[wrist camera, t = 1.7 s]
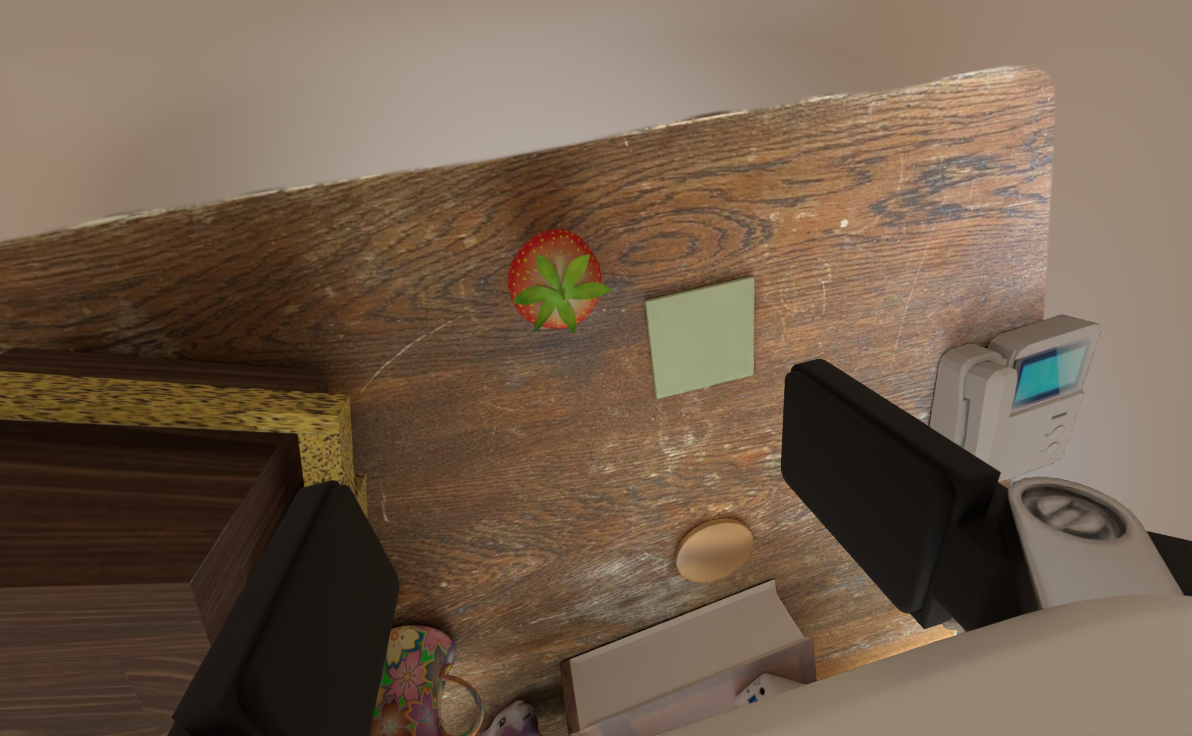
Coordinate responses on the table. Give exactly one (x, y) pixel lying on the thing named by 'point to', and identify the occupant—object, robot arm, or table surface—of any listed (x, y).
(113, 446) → the brown wooden box
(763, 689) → the multiport hub
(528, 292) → the fruit
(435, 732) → the mug
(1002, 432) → the intercom
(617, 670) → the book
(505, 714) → the figurine
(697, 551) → the coaster
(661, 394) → the napkin
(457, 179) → the table surface
